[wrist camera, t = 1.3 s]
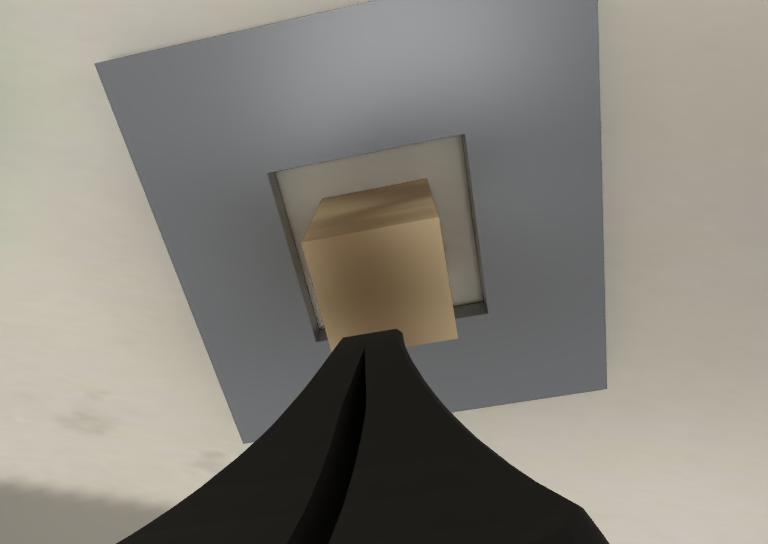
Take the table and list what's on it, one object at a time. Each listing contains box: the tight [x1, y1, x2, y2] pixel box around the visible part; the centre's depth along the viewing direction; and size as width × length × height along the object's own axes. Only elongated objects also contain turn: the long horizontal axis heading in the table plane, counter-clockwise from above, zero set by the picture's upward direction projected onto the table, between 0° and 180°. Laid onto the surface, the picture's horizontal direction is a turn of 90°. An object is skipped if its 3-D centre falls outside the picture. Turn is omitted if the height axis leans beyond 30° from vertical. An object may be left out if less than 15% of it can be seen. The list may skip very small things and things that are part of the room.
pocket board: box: [95, 0, 607, 444], centre depth 19 cm, size 16×16×1 cm
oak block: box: [301, 179, 458, 352], centre depth 17 cm, size 4×4×5 cm
